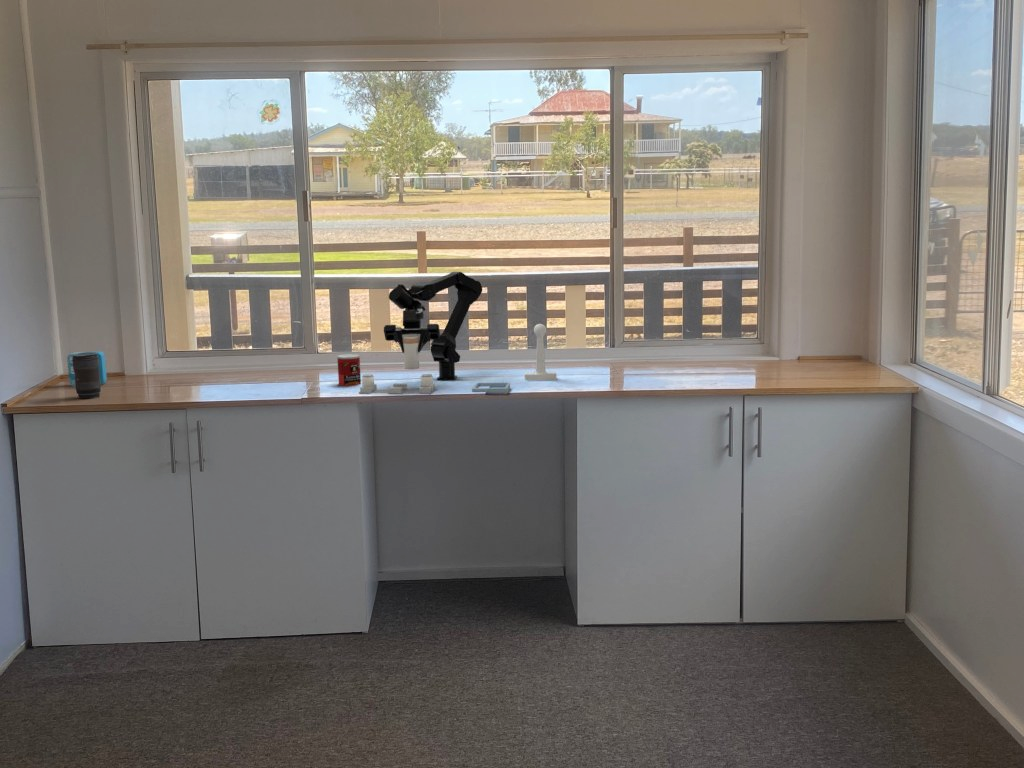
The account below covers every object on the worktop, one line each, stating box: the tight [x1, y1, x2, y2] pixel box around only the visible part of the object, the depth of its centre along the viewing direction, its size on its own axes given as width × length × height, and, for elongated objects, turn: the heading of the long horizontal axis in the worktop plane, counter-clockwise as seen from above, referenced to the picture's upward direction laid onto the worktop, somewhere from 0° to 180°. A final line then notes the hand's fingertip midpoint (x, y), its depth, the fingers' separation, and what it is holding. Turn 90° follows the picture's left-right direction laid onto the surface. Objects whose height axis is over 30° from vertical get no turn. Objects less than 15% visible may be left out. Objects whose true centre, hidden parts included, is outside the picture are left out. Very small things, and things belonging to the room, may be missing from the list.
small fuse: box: [420, 373, 434, 393], centre depth 337 cm, size 4×4×6 cm
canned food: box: [337, 353, 362, 387], centre depth 354 cm, size 8×8×11 cm
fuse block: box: [358, 383, 438, 395], centre depth 339 cm, size 9×25×3 cm, turn 83°
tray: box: [471, 382, 511, 396], centre depth 340 cm, size 12×12×2 cm
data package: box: [66, 350, 108, 387], centre depth 370 cm, size 12×4×12 cm, turn 98°
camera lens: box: [72, 351, 102, 399], centre depth 344 cm, size 8×8×15 cm
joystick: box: [524, 323, 557, 381], centre depth 362 cm, size 11×8×20 cm
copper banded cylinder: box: [403, 333, 420, 370], centre depth 343 cm, size 5×5×12 cm
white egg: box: [361, 373, 375, 392], centre depth 340 cm, size 4×4×6 cm
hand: (410, 351), depth 342 cm, fingers closed on copper banded cylinder, 5 cm apart
